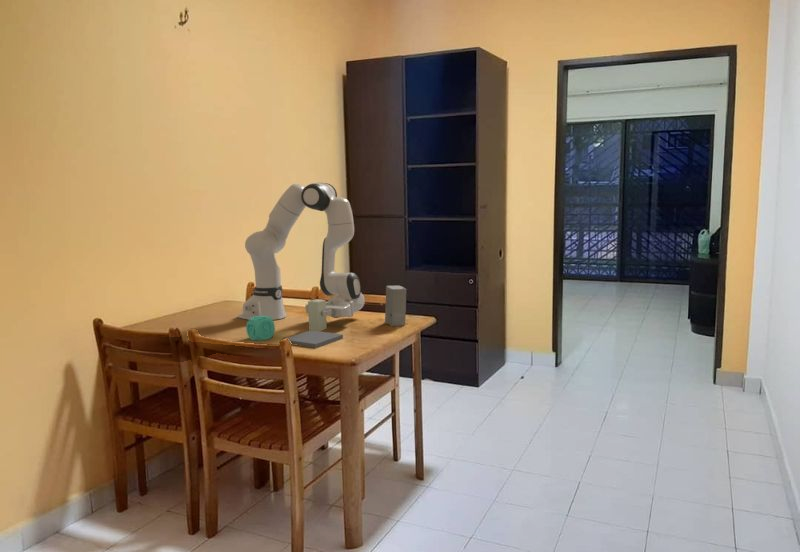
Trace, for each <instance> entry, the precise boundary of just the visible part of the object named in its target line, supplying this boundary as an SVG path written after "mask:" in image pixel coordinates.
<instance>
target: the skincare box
mask: <svg viewBox="0 0 800 552" xmlns="http://www.w3.org/2000/svg"><path fill="white" fill-rule="evenodd" d="M406 308H407V288H405V287H404V286H401V285H386V287H385V308H384V310H385V311H384V312H385V313H384V323H385V324H387V325H389V326H390V327H397V326H398V327H400V326H401V327H402V326H405V325H406V313H407V312H406V311H407V309H406Z"/></svg>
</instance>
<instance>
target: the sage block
mask: <svg viewBox="0 0 800 552" xmlns="http://www.w3.org/2000/svg"><path fill="white" fill-rule="evenodd" d="M326 301H327V300H325V299H318V298H316V299H315V298H314V299H312V300H308V301H307V304H308V313H307V314H308V328H309V330H308V331H310V330H313V331H320V332H323V331H325V329H326V330H327V329H328V328H327V327H328V326H327V324H328V323H327V315H326V316H321V311H326V303H327V302H326ZM322 330H323V331H322Z"/></svg>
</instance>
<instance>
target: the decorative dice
mask: <svg viewBox="0 0 800 552" xmlns="http://www.w3.org/2000/svg"><path fill="white" fill-rule="evenodd" d="M245 326H246V327H245V329H246V334H247V337H248V338H249V339H250V340H251V341H255V342H256V341H257V342H258V341H267V339H268V340H271V338H273V336H274V334H275V330H276V328H275V327H276V325H275V321H274V320H272V319H271V318H270V317H269V316H256V317H252V318H250V319H249V320H247V321H246V325H245Z"/></svg>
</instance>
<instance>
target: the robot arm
mask: <svg viewBox="0 0 800 552" xmlns="http://www.w3.org/2000/svg"><path fill="white" fill-rule="evenodd" d="M306 208H308V209H311V210H315V211H320V212H324V213H325V214H326V219H327V233H326V237H325V238H324V239H323V242H322V248H321V249H322V252H321V255H322V256H321V273H320V280H319V287H320V289H321V292H322V293H323V294H324V295H326V296H328V297H330V296H331V298H329V299H328V300H327V302H326V311H321V316H326V317H327V316H328V317H332V318H333V319H338V318H352V317H354V313H356V312H359V311H361V309H362V308H363V307H364V306H365V303H366V301H365V295H363V293H362V283H361V280H360V278H359V276H358V275H357V274H356V273H355V272H336V270H335V267H336V266H335V262H336V261H335V260H336V259H335V258H336V252H338V251H337V250H339V248H341V247H343V246H345V245H347V244H348V243H350V242H351V240H352V239H353V237H354V235H355V223H354V216H353V209H352V206H351V203H350V201H349V200H348V199H347V198H345V197H342V196H341V197H338V192H337V190H336V188H335V187H334V186H333V185H332V184H330V183H326V182H314V183H310V184H307V185H306V186H303V185H302V184H299V183H293V184H291V185H290V186H288V188H287V189H286V190H285V191H284V192H283V193H282V195H281V196H280V198H279V199H278V201H277V202H276V203H275V205H274V206H273V208H272V210H271V212H270V213H269V215H268V221H267V223H266V225H265V227H264V229H263V230H259V231H256V232H253V233H252V234H249V236H247V238H246V240H245V242H244V247H245V250H246V252H247V253H248V254H249V256H250V259H251V262H252V265H253V270H254V278H255V279H254V282H255V286H254V287H252V288H251V290H250V291H251V292H252V295H251V296H250V297H249V298H248V299H247V300H246V301H245V302H244V303H243V305H242V313H241V312H240V313H239V314H237V318H239V319H242V320H243V319H244V320H247V321H248V320H249V319H250V318H252V317H256V316H269V317H270V318H271V319H272V320H273V321H275V320H280V319H285V318H286V317H287V314H286V310H285V305H284V300H283V286H282V280H281V269H280V266H279V264H278V262H277V259H276V257H275V256H276V254H277V253H279V252H281V251H282V250H283V249H284V248H285V246H286V243H287V242H286V241H287V239H288V237H289V234H290V231H291V229H292V228H293V226H294V225H295V223H296V222H297V220H298V219H299V217H300V215H302V213H303V211H304V209H306ZM332 296H333V297H332ZM305 313H306V314H308V303H307V304H305Z"/></svg>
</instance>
